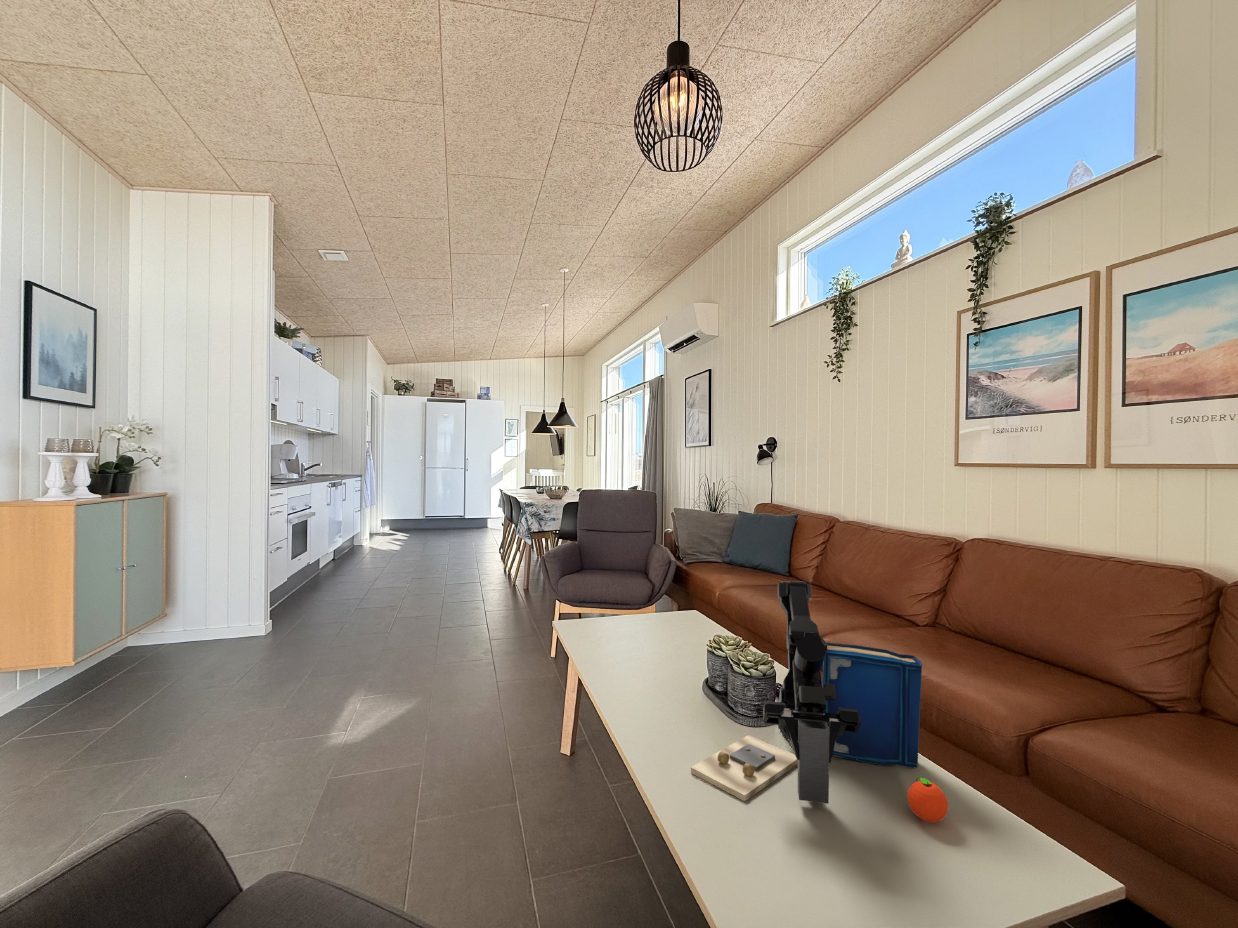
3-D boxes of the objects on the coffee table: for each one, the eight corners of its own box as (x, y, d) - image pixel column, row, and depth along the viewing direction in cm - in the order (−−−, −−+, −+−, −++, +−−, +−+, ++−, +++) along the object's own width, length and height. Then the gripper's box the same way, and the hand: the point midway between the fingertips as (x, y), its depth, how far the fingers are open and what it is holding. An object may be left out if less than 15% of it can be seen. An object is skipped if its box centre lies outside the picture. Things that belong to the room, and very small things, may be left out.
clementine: (897, 804, 112) (898, 768, 112) (933, 805, 112) (933, 769, 112) (918, 830, 104) (918, 791, 104) (955, 831, 104) (956, 792, 104)
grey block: (795, 781, 116) (796, 712, 116) (823, 784, 115) (824, 714, 115) (799, 799, 110) (799, 726, 110) (828, 803, 109) (829, 729, 109)
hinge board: (748, 739, 138) (748, 725, 138) (800, 762, 128) (800, 747, 128) (690, 772, 123) (690, 757, 123) (744, 801, 112) (744, 784, 113)
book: (918, 758, 130) (919, 650, 130) (924, 773, 123) (925, 660, 123) (819, 742, 137) (820, 640, 137) (819, 756, 130) (820, 649, 130)
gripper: (764, 662, 117) (766, 741, 106) (859, 670, 113) (872, 752, 102) (762, 685, 124) (764, 760, 114) (851, 693, 120) (862, 771, 110)
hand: (814, 761), depth 110 cm, fingers closed on grey block, 5 cm apart
